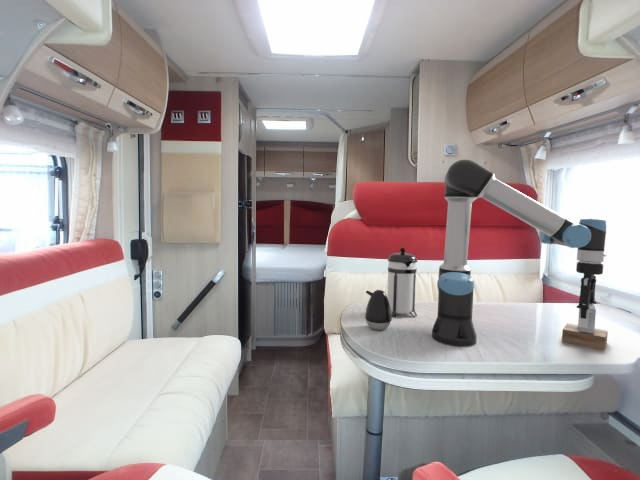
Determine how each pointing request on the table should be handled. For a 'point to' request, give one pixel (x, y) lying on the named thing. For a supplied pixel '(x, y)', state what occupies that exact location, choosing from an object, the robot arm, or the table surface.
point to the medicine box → (590, 320)
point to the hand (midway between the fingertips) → (585, 323)
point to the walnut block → (584, 337)
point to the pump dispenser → (378, 310)
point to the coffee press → (402, 283)
